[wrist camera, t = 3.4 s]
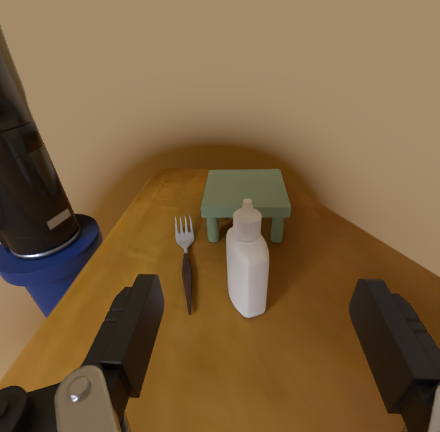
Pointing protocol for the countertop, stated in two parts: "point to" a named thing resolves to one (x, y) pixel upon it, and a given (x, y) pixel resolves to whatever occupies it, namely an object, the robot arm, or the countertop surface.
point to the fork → (186, 257)
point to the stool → (245, 189)
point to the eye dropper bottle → (247, 262)
